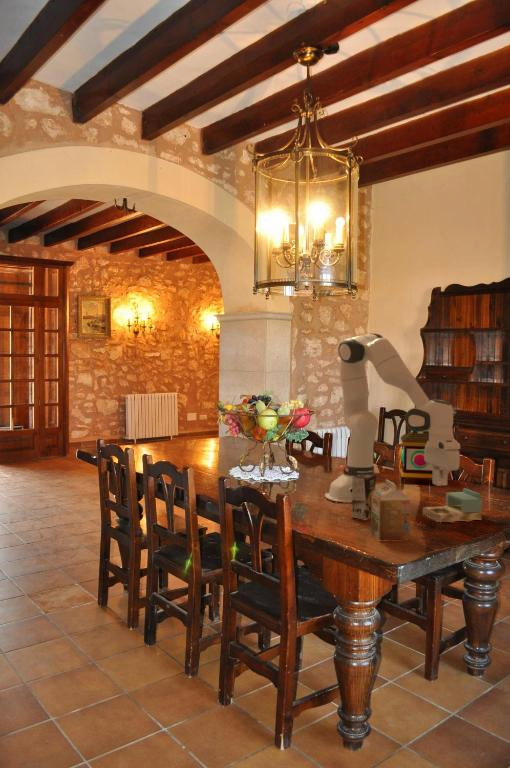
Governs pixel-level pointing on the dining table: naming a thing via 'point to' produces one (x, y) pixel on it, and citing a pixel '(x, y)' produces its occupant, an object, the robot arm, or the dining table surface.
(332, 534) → the dining table surface
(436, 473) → the jaw block
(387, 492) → the milk carton
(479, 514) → the housing base
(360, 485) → the coffee box
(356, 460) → the robot arm
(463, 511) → the cover
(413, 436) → the decorative lantern
